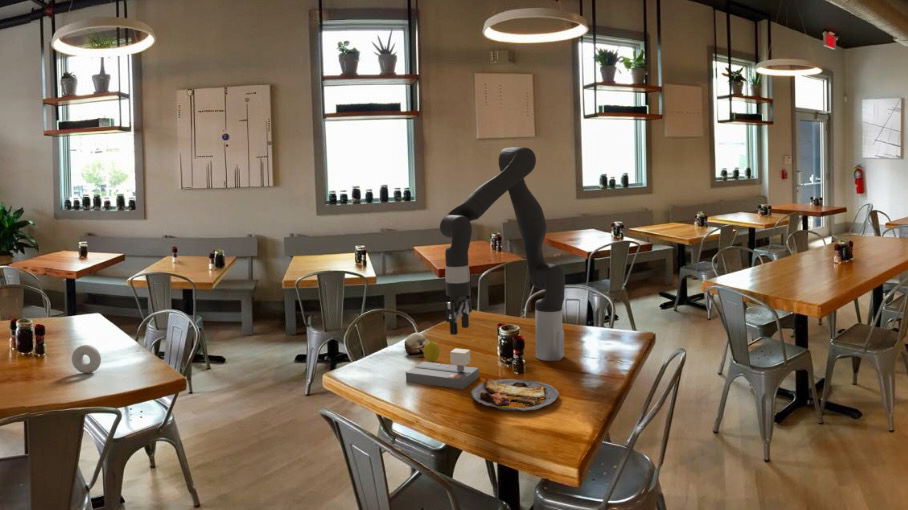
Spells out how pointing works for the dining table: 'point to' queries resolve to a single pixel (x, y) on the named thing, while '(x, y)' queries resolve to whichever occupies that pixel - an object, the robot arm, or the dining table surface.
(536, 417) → the dining table surface
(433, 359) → the lemon
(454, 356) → the fader knob
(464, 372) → the slider console
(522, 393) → the food plate
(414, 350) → the skull
